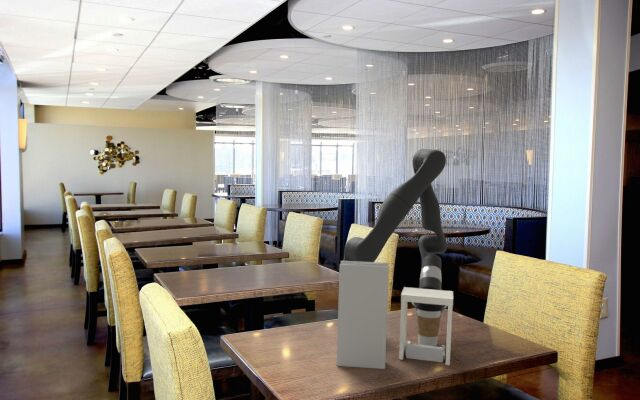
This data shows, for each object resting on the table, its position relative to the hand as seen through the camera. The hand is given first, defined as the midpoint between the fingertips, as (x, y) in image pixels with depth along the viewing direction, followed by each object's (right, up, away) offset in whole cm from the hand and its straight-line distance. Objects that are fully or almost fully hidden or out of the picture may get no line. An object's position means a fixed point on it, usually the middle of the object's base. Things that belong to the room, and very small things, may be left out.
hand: (428, 325), depth 173 cm
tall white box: (-24, -6, -21) cm, 33 cm away
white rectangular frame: (-4, -6, -12) cm, 14 cm away
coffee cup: (-1, -6, -3) cm, 7 cm away
